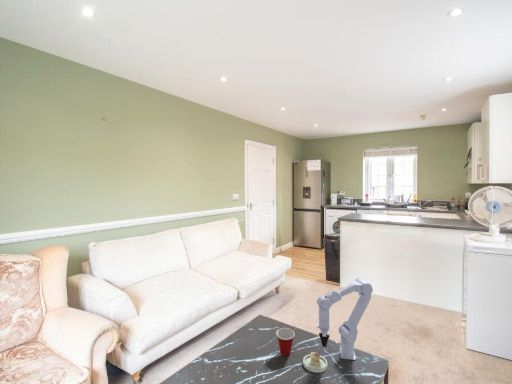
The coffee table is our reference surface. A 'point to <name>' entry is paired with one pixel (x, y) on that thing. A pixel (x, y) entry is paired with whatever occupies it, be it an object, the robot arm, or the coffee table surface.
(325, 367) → the celadon dish
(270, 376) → the coffee table surface
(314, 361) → the birch block
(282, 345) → the plastic cup
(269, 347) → the coffee table surface
